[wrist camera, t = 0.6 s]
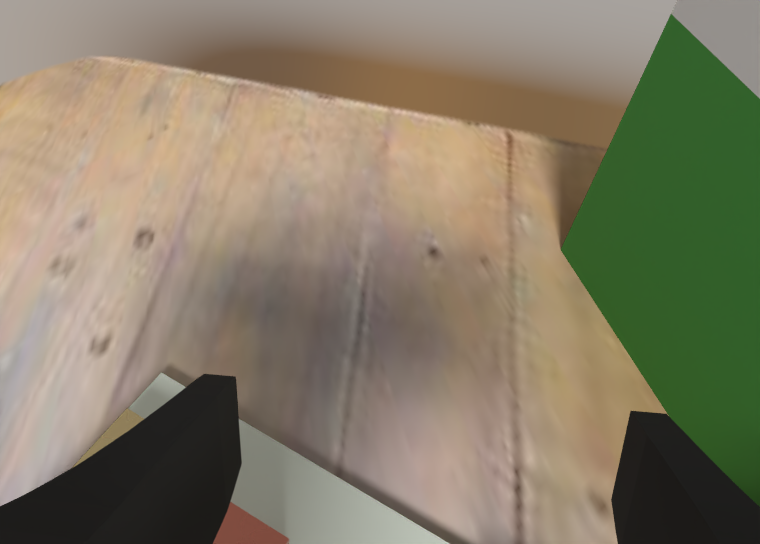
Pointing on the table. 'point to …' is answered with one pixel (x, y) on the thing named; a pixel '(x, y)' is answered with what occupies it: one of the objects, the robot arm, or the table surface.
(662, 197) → the hardback book
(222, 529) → the mallet
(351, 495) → the board
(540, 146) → the table surface
